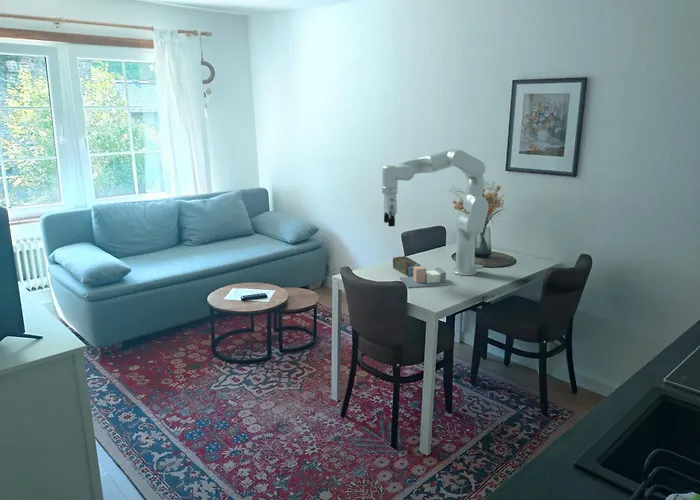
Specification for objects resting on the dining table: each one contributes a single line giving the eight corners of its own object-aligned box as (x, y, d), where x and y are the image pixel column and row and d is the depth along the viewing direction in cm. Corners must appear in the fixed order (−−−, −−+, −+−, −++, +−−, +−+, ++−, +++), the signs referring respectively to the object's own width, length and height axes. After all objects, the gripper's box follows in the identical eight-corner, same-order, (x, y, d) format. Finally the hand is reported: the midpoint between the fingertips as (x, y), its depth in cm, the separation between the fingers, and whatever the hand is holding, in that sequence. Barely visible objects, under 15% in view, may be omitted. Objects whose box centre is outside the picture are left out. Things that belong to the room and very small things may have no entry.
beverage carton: (407, 277, 278) (408, 265, 277) (392, 268, 296) (392, 256, 294) (421, 275, 281) (421, 263, 279) (404, 266, 298) (405, 255, 297)
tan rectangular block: (422, 279, 272) (423, 266, 270) (425, 282, 267) (426, 268, 265) (413, 279, 271) (413, 266, 269) (416, 282, 266) (416, 269, 265)
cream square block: (439, 277, 275) (439, 267, 274) (445, 282, 267) (445, 272, 266) (422, 278, 274) (422, 268, 273) (427, 283, 265) (427, 273, 264)
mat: (436, 276, 279) (436, 275, 279) (447, 285, 264) (447, 284, 263) (399, 278, 276) (399, 277, 275) (408, 288, 260) (408, 286, 260)
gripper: (401, 192, 258) (400, 227, 262) (393, 188, 274) (392, 220, 278) (386, 193, 256) (385, 228, 261) (378, 188, 273) (378, 221, 277)
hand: (389, 224), depth 269 cm, fingers open, 9 cm apart
